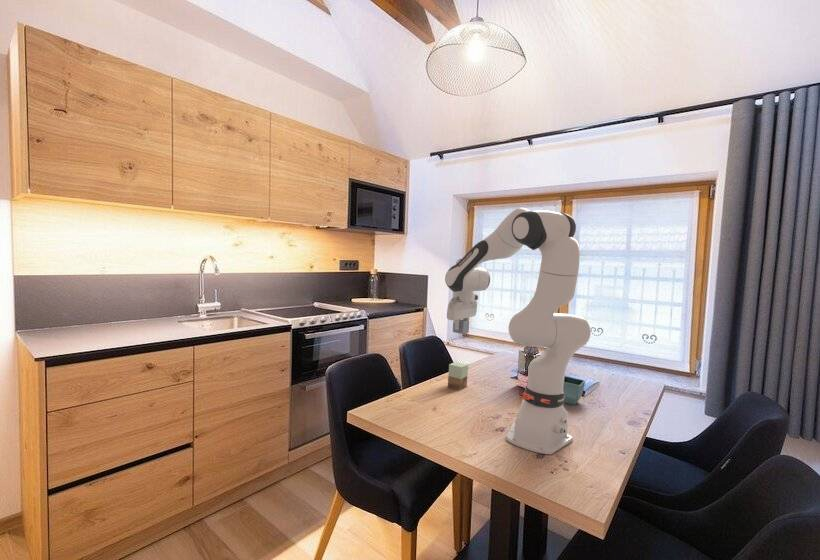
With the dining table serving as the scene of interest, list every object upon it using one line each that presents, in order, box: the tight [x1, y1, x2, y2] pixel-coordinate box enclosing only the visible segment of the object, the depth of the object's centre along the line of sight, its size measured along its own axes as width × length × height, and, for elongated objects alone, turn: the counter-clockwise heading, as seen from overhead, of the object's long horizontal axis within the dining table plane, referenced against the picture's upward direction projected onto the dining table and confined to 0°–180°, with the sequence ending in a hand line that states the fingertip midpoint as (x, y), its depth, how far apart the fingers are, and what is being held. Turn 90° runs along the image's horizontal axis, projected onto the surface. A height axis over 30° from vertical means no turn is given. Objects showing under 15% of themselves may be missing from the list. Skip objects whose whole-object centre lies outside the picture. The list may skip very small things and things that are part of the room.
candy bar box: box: [516, 349, 543, 377], centre depth 166 cm, size 11×5×16 cm, turn 23°
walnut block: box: [447, 375, 468, 391], centre depth 163 cm, size 6×6×5 cm
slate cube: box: [452, 319, 470, 335], centre depth 162 cm, size 5×5×5 cm
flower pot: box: [563, 375, 586, 406], centre depth 152 cm, size 9×9×9 cm
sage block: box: [448, 361, 469, 379], centre depth 163 cm, size 6×6×5 cm
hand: (461, 328), depth 162 cm, fingers closed on slate cube, 5 cm apart
